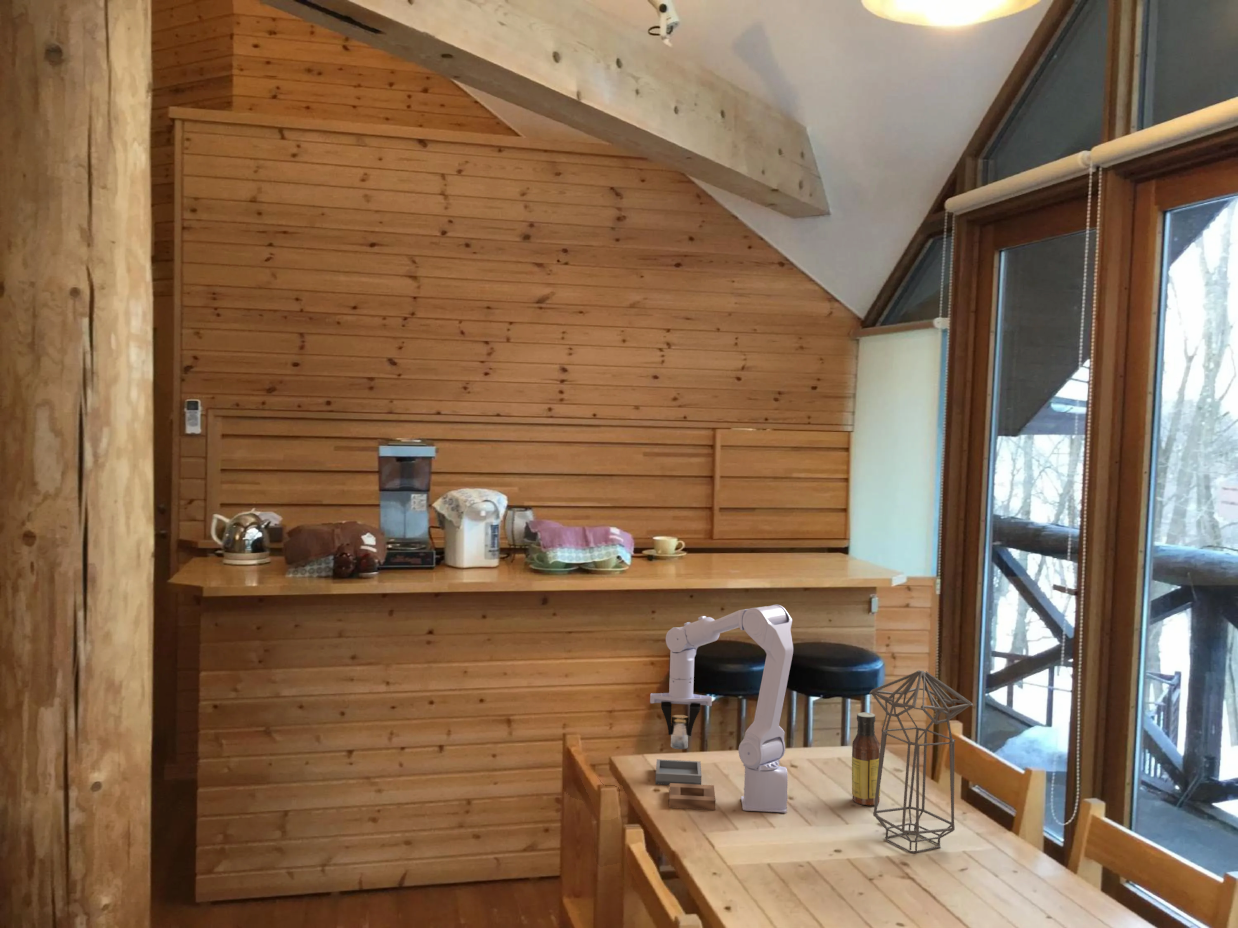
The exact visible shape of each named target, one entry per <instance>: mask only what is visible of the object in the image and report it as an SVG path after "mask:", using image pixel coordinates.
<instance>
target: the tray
mask: <svg viewBox="0 0 1238 928" xmlns="http://www.w3.org/2000/svg"><path fill="white" fill-rule="evenodd" d="M701 764H702V763H701V761H697V760H696V761H695V760H681V759H680V760H678V759H657V758H656V765H655V767H656V768H655V785H662V786H663V785H667V786H668V785H669V786H670V783H678V784H698V785H702V776H703V775H702V765H701Z"/></svg>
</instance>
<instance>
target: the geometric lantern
mask: <svg viewBox="0 0 1238 928" xmlns="http://www.w3.org/2000/svg"><path fill="white" fill-rule="evenodd" d="M916 680H917V682H916V685H915V687H914V688H912V687H913V685H914V684H915V681H916ZM903 681H904V682H903ZM921 681H922V684H923V686H922V688H920V686H921ZM900 682H903V683H902V684H901V685H900V686H899V687H898V688H896V689H895V690H894V691H885V690H883V689H885V688H887V687H890V686H892V685H895V684H897V683H900ZM929 687H930V689H931V690H930V689H929ZM902 689H903V690H902ZM943 689H944V690H945V691H947V693H950V694H951V695H953V697H956V698H957V699H952V698H951V697H950V696H949V695H948V694H947V693H946V692H945V691H944V690H943ZM919 691H922V705H921V706H920V707H916V706H917V700H918V696H919ZM912 692H913V693H912ZM925 692H926V693H927V697H928V699H929V703H930V705H925ZM909 693H912V694H911V695H910V696H909V697H908V699H907V698H906V697H907V695H908V694H909ZM869 695H872V697H873V698H874V700H875V701H876V702H877V703H878V705H880V706H879V707H881V709H882V710H883V711H884V712H885V716H884V717H885V718H884V720H883V723H882V728H881V735H880V737H881V738H880V755H879V765H878V775H877V785H876V795H875V804H874V805H873V812H872V813H873V815H872V816H873V817H874V818H875V819H876V820H877V821H878V823H879V824H881V826H882V828H884V829H885V837H884V839H885V841H887V842H888V843H890V844H893V845H895V846H897V847H898V848H899V849H902V850H904V851H906V852H908V853H911V854H917V853H922V852H926V851H931V850H936V849H940V848H941V839H942V838H944V837H945V836H948V835H949V834H951V833H953V832H954V831H955V754H956V753H955V752H956V751H955V742H956V739H954V738H953V735H952V729H951V723H950V720H951V719H953V718H955V717H956V716H957V715H959V714H961V713H962V712H963V711H965V710H966V709H968V708H969V707H970V706H971V707H973V705H974V703H972V701H970V700H969V699H967V698H966V697H964V696H963V695H961V694H960V693H959V692H957V691H955V690H954V689H953V688H951V687H950V686H948V685H947V684H945V683H944V682H942V681H941V680H939V679H938V678H937V677H935V676H934V675H932V674H931V673H930V672H928V671H924V670H919V669H918V670H916V671H915V672H911V673H910V674H907V675H906V676H903V677H901V678H898V679H896V680H893V681H890V682H888V683H886V684H882V685H881V686H878V687H876V688H873V689H871V690H870V692H869ZM886 695H889V696H886ZM897 695H898V697H897V698H896V699H895V696H897ZM934 696H935V697H937V698H938V700H939V701H940V703H941V705H942V707H941V706H940V704H939V703H938V702H937V700H936V699H935V698H934ZM902 697H903V701H902V703H901V702H900V700H901V698H902ZM879 698H880V699H881V700H883V701H884V702H885V703H882V701H881V700H880V699H879ZM911 700H912V704H909V703H910V702H911ZM956 703H958V704H959V703H961V704H959V705H958V704H957V705H956ZM888 704H889V705H890V706H891V708H890V710H889V709H888ZM947 704H948V705H952V706H950V707H949V706H947ZM897 708H902V710H901V711H899V712H897V711H896V709H897ZM912 709H913V710H919V711H923V713H924V714H925V715H926V716H927V717H928V718H929V719H930V722H929V724H928V725H927V726H926V728H923V727H918V725H917V723H915V721H914V718H912V716H911V714H910V713H909V711H911V710H912ZM927 709H928V710H929V709H931V710H933V711H935V714H934V717H933V716H932V715H931V714H930V713H929V712H928V711H927ZM950 711H951V712H950ZM905 713H907V716H908V717H909V718H910V720H911V721H912V723H913V725H914V726H915V727H914V726H913V727H904V725H903V723H902V720H901V719H900V716H901V715H903V714H905ZM941 713H943V714H945V716H946V718H945V719H941V720H939V719H938V718H939V716H940V715H941ZM892 717H895V718H896V720H897V722H898V724H899V725H900V727H901V728H890V729H889V726H890V722H891V719H892ZM942 723H943V724H944V723H946V724H947V730H948V736H946V735H944V734H942V733H937V732H936V731H933V730H930V728H931V726H932V725H933V724H935V725H938V724H942ZM885 724H886V725H885ZM884 728H885V729H884ZM908 730H915V740H914V742H913V741H911V739H910V738H909V737H910V736H909V735H908V733H907V731H908ZM895 731H897V732H898V731H903V734H904V736H905V738H906V740H905V739H902V738H900V737H897V736H896V735H894V734H893V735H892V734H891V733H889V732H895ZM920 731H921V732H922V733H921V734H920V733H919V732H920ZM928 733H931V734H934V735H936V736H939V737H941V738H944V739H947V740H949V742H944V741H943V742H935V743H934V742H933V743H932V742H931V743H928ZM919 734H920V735H919ZM923 735H924V738H923V739H924V741H923V743H918V742H919V741H920V739H921V738H922V737H923ZM887 737H891V738H893V739H896V740H898V741H901V742H903V743H906V744H907V752H906V753H907V754H906V765H905V780H904V791H903V792H904V794H903V805H902V806H901V807H895V808H894V807H892V808H886V809H880V810H879V809H878V798H879V790H880V791H881V782H882V775H883V768H884V760H885V752H886V746H887V745H886V744H887ZM939 745H948V746H949V752H948V753H949V780H950V781H949V782H950V820H951V821H950V820H948V819H945V818H943V817H941V816H938V815H937V814H934V813H932V812H931V811H928V810H926V809H925V808H926V807H925V802H926V775H927V774H926V773H927V751H928V750H927V746H939ZM911 746H914V749H913V750H914V751H913V759H912V769H911V780H910V790H909V799H908V798H907V797H908V789H909V787H908V784H909V774H910V773H909V771H910V759H911V758H910V757H911ZM920 747H923V762H922V763H923V768H922V794H921V797H922V798H921V807H920ZM915 775H916V776H915ZM915 778H916V779H915ZM915 780H916V784H915ZM914 784H915V789H916V791H915V795H916V796H915V807H914V806H912V803H913V801H912V800H913V796H914V795H913V793H914ZM907 799H908V801H907ZM907 802H908V806H907ZM907 810H908V816H909V822H907V823H906V814H907ZM911 810H913V811H915V822H914V823H912V811H911ZM896 811H902V821H901V822H902V823H901V824H898V825H897V824H894V823H892V822H890V821H888V820H886V819H884V818H883V817H881V816H880V815H879V814H881V813H889V812H896ZM923 813H925V814H927V815H929V816H931V817H933V818H936V819H937V820H940V821H942V822H944V823H946V824H948V825H949V826H948V827H946V828H935V829H928V828H927V827H926V828H925V827H923V826H921V825H920V818H921V817H922V815H923ZM906 826H908V830H907V829H906V830H905V828H906ZM911 826H913V830H911ZM892 829H896V830H897V831H899V832H901V833H898V832H895V831H893V830H892ZM920 829H921V830H920ZM889 832H890V833H892V834H891V835H889ZM909 833H910V834H912V835H915V839H914V840H913V839H911V838H910V837H909V835H908V834H909ZM923 834H933V835H936V837H934V836H933V837H929V838H928V837H926V836H924V835H923ZM904 835H905V836H904ZM894 837H900V838H902V839H903V840H906V841H908V842H909V848H906V847H904V846H903V845H902V846H901V845H900V844H898V843H896V842H894V841H892V840H891V839H889V838H894ZM918 837H920V839H918ZM921 838H922V839H921ZM935 840H937V841H935ZM924 841H926V842H927V841H929V842H931V843H933V844H935V845H937V846H931V847H927V848H922V849H919V850H918V842H924ZM912 843H915V844H914V845H915V846H914V850H912Z"/></svg>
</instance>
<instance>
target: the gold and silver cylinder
mask: <svg viewBox="0 0 1238 928" xmlns="http://www.w3.org/2000/svg"><path fill="white" fill-rule="evenodd" d="M671 726H672V728H671V729H672V732H671V735H670V747H671V748H672V749H675V750H685V749H688V747H689V746H688V745H689V736H688V726H689V715H688V716H687V715H684V714H675V715H671Z"/></svg>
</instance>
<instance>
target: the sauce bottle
mask: <svg viewBox="0 0 1238 928" xmlns="http://www.w3.org/2000/svg"><path fill="white" fill-rule="evenodd" d="M856 720H857V731H856V732H857V734H856V735H855V737H854V739H853V741H852V746H851V747H852V748H851V749H852V752H851V795H852V800H853V802H854V803H856V804H858V805H862V806H868V807H869V806H874V804H875V795H876V785H877V775H878V765H879V755H880V745H881V743H880V742H879V740H878V738H877V736H876V734H875V733H876V732H875V725H876V724H875V723H876V714H875V713H872V712H871V713H870V712H865V711H864V712H858V713H856ZM880 796H881V789H880V790H879V798H878V804H880V801H881V799H880V798H881V797H880Z"/></svg>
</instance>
